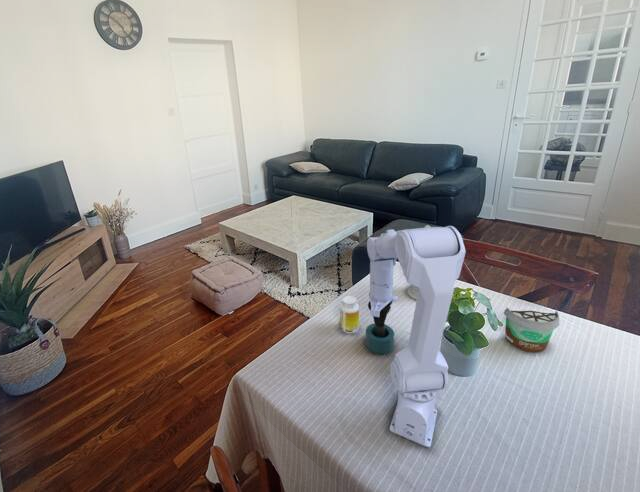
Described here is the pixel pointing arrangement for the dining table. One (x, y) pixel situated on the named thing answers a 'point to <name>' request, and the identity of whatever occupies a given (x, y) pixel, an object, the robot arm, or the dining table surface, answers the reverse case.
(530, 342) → the food container
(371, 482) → the dining table surface
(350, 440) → the dining table surface
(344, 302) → the supplement bottle
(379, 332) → the brush
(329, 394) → the dining table surface
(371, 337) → the teal ring pot
